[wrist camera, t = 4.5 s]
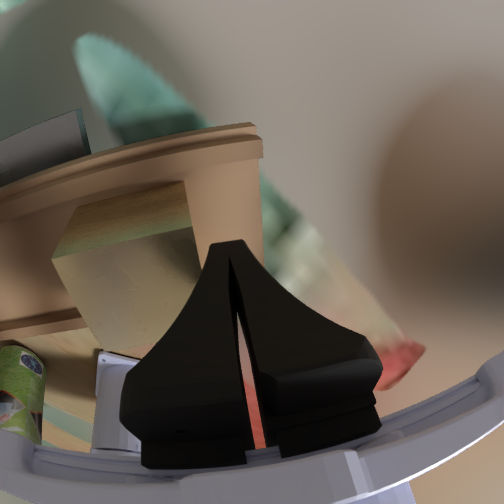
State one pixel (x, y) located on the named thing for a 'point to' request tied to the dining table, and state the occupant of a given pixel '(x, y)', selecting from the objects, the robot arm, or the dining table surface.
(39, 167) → the pivot stand
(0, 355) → the beverage can
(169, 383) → the robot arm
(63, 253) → the brass block
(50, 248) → the beam
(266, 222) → the dining table surface
